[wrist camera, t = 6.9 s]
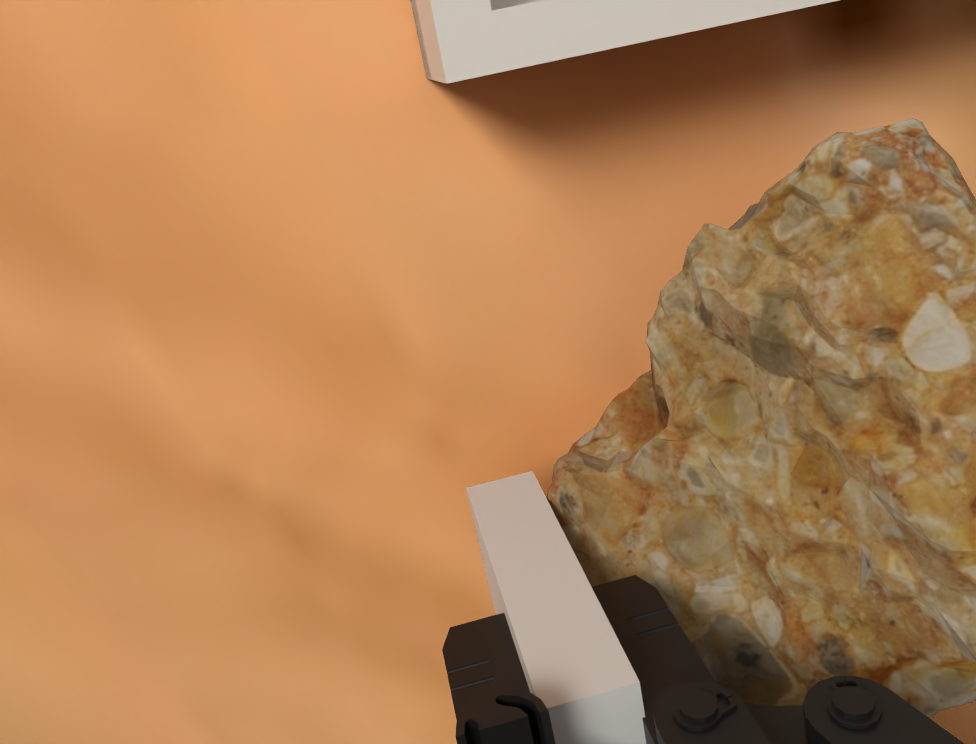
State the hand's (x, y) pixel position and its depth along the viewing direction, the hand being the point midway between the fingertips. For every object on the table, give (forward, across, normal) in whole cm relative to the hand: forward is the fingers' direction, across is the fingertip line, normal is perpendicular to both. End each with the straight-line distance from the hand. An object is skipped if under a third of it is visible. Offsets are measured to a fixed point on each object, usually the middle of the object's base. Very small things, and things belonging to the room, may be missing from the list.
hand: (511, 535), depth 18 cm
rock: (+3, +6, +1) cm, 7 cm away
